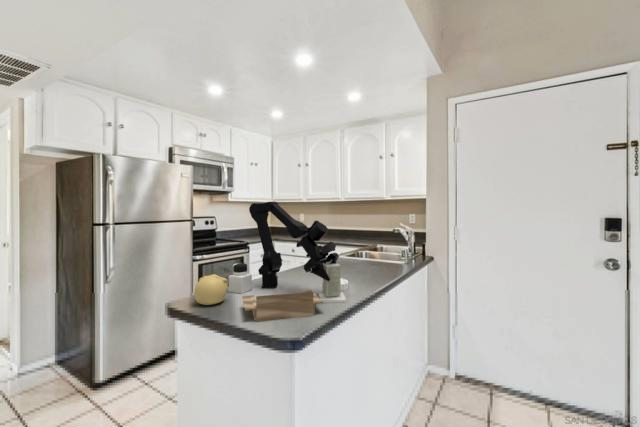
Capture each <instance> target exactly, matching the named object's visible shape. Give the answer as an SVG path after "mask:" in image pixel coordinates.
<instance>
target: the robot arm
mask: <svg viewBox="0 0 640 427" xmlns="http://www.w3.org/2000/svg"><path fill="white" fill-rule="evenodd" d="M248 210H249V214H250V216H251V218H252V219H253V221H254V222H255V224H256V226H257V231H258V234H259V237H260V242H261V246H262V250H263V251H262V252H263V256H262V258H261V259H262V261H261V262H262V264H261V266H260V267H259V269H257V270H258V274H259V275H261V283H262V284H261V289H276V288H277V286H278V285H279V282H278V280H279V277H278V274H277V273H280V270H281V267H282V266H283V259H282V255H281V252H277V251H276V249H275V247H274V242H273V240H272V234H271V230H270V227H269V222H268V219H269V213H271V214H272V215H273V216H274V217H275V218H276V219H278V220H279V221H280V223H281V224H282V225H284V226H285V228H286V231H287V233H288V234H289V236H290V237H291V238H293V239H299V240H297V241H296V248H300V247H302V248H303V250H304V251H305V254H306V258H309V260H307V262H306V263H305V264H304V265H303V270H304V271H305V272H306V274H307V273H310V274H313V275H316V276H317V277H319V278H321V279H322V280H323V279H325V280H327V281H330V278H329V276H328V274H327V273H326V271H325V270H324V268H323V264H337V261H338V259H339V257H340V255H339V254H338V253H337V252H335V251H336V248H337V244H335V243H334V242H333V241H329V242H327V244H324V245H320V244H319V245H318V243H317V242H319V241H321V240H322V239H323V238H324V237H325V235H326V234H327V233H328V232H329V229H328V227H327V226H326V225H325V224H324V223H322V222H320V221H319V220H314V222H313V223H312V224H311V225H310V226H307V225H306V224H305V223H304V222H302V221H299V220H296V219H295V218H293V216H292V215H290V214H289V213H288V212H287V211H286V210H285V209H284V208H282V207H281V205H279V203H278V202H277V201H267V202H253V203H251V204H250V206H249V209H248ZM300 238H301V239H300Z"/></svg>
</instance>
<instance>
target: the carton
mask: <svg viewBox="0 0 640 427" xmlns="http://www.w3.org/2000/svg"><path fill="white" fill-rule="evenodd" d="M241 297H242V298H241V299H242V301H243V308H244V311H245V312H246V311H247V312H248V311H251V313H252V316H253V317H252V318H253V319H254V321H255V322H261V321H263V322H265V321H273V320H281V319H282V320H283V319H290V318H299V317H308V316H309V317H310V316H314V315H316V304H318V305H320V304H324V303H323V301H322V300H321V299H320V298H319V295H317V294H316V293H315V292H314V291H313V290H312V289H310V290H301V291H300V292H299V291H298V292H290V293H278V294H267V295H266V294H265V295H257V296H255V295H254V294H253V295H252V294H251V295H242V296H241Z"/></svg>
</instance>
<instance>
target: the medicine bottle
mask: <svg viewBox="0 0 640 427" xmlns="http://www.w3.org/2000/svg"><path fill="white" fill-rule="evenodd" d="M252 280H253V279H252V273H248V264H247V263H245V262H239V263H234V264H233V265H232V274H231V275H228V292H229V293H235V294H245V293H247V292H249V291H252V290H253V289H252V287H253V285H252V284H253V283H252Z"/></svg>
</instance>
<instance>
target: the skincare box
mask: <svg viewBox="0 0 640 427" xmlns="http://www.w3.org/2000/svg"><path fill="white" fill-rule="evenodd" d="M341 266H342V265H341V264H339V263H336V264H323V268H324V270H325V271H326V273H327V274H328V276H329V278H330V281H327V280H325V279H323V278H322V281H323V288H322V293H323V294H324V295H325V296H326V297H328V296H338V295H340V293H341V291H340V279H341V275H342V274H341V271H342V270H341V269H342V268H341Z"/></svg>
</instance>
